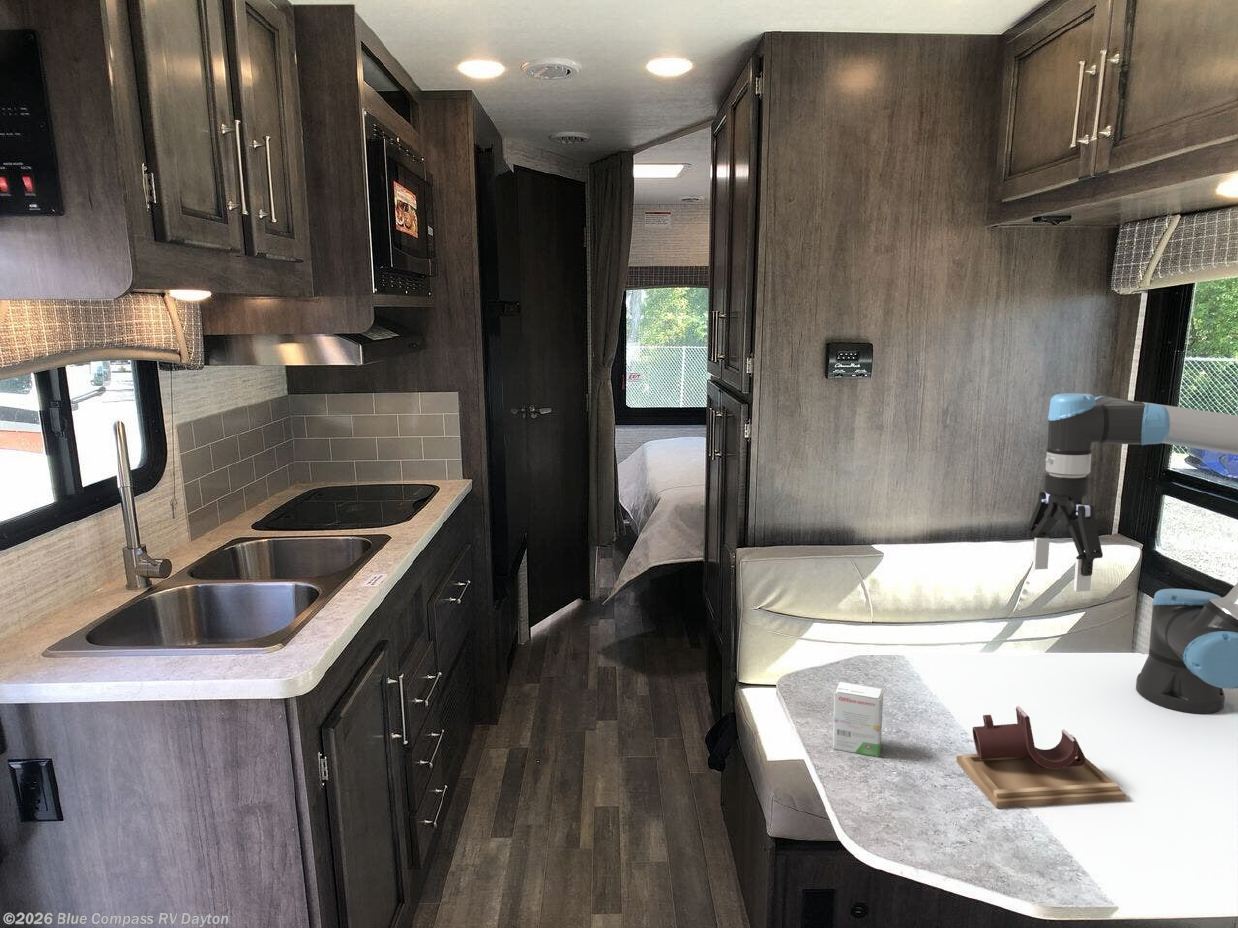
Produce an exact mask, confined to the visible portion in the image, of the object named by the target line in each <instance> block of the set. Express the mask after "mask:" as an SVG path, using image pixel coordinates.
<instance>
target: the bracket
mask: <svg viewBox="0 0 1238 928" xmlns="http://www.w3.org/2000/svg"><path fill="white" fill-rule="evenodd" d="M1015 711H1016V712H1015V713H1016V723H1008V724H1005V723H1004V724H995V725H994V721H993V720H994V719H993V717H992V715H991V714H983V715H982V720H983V724H984V725H982V726H973V727H972V735H973V736H972V737H973V742H974V746H975V750H976V754H978V757H979V759H993V758H1008V757H1022V756H1025V757H1027V758H1028V759H1029V760H1031V761H1032V762H1033V763H1035V764H1036V765H1037V766H1039V767H1040V768H1052V769H1058V768H1063V767H1076V766H1082V765H1084V764H1085V761H1086V758H1087V757H1086V756H1085V754H1084V752H1083V750H1082V748H1081V746H1080V744H1079V742H1078V740H1077V739H1076V737H1075V736H1074V735H1073V734H1070V733H1069V732H1068V731H1067V730H1065V729H1061V738H1060V740H1059V742H1058V744H1057V745H1056V746H1054V747H1052V748H1049V749H1042V748H1039V747H1036V746H1035V742H1034V736H1033V731H1032V730H1033V729H1032V724H1031V719H1030V716H1029V715H1028V714H1027V713H1026V712H1025V711H1024V709H1022V708H1021V707H1020V705H1019V706H1016V707H1015ZM1077 756H1078V758H1077V759H1075V757H1077Z"/></svg>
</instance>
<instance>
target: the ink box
mask: <svg viewBox="0 0 1238 928" xmlns="http://www.w3.org/2000/svg"><path fill="white" fill-rule="evenodd" d="M883 704H884V689H883V688H879V687H872V686H866V685H860V684H856V683H849V682H843V681H838V682H837V685H836V686H835V689H834V691H833V724H832V725H833V729H832V730H833V731H832V732H833V733H832V734H833V736H832V748H833V749H834V750H839V751H844V752H850V753H854V754H859V755H865V756H870V757H876V758H879V757H880V753H881V748H882V731H883V710H884V709H883V706H884V705H883Z"/></svg>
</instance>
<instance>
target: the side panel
mask: <svg viewBox="0 0 1238 928" xmlns="http://www.w3.org/2000/svg"><path fill="white" fill-rule="evenodd" d="M1077 758H1078V756H1077V757H1075V759H1077ZM1085 758H1086V761H1085V764H1084V765H1082V766H1076V767H1063V768H1058V769H1052V768H1040V767H1039V766H1037V765H1036V764H1035V763H1033V762H1032V761H1031V760H1029V759H1028V758H1027V757H1025V756H1022V757H1008V758H993V759H979V757H978V754H977V753H970V754H969V753H968V754H967V753H966V754H961V755H956V764H958V765H959V767H960V768H961V769H962V770H963V772H965V774H966V775H967V776H968V777H969V778H970V780H972V782H973V783H974V784H975V786H977V787H978V789H979V790H980V791H981V793H983V795H984V796H985V797H986V798H987V799H988V801H989V802H990V803H991V804H992V805H993V806H994V807H995V809H1003V808H1005V809H1006V808H1022V807H1023V808H1024V807H1036V806H1053V805H1069V804H1071V805H1072V804H1084V803H1088V804H1089V803H1099V802H1100V803H1101V802H1102V803H1103V802H1105V803H1106V802H1117V801H1118V802H1119V801H1126V792H1125V791H1123V790H1122V789H1121V788H1119V787H1120V786H1119V785H1118V784H1117V783H1116V782H1115V781H1114V780H1112V779H1111V778H1110V777H1109V776H1107V774H1105V773H1104V772H1103V771H1102V770H1101V769H1100V768H1098V767H1097V766H1096V765H1095V764H1094V763H1092V761H1090V760H1089V759H1088V758H1087V757H1085Z"/></svg>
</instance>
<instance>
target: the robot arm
mask: <svg viewBox="0 0 1238 928" xmlns="http://www.w3.org/2000/svg"><path fill="white" fill-rule="evenodd" d="M1048 409H1049V410H1048V415H1047V441H1046V442H1047V445H1046V458H1045V471H1046V472H1047V473H1045V475H1044V482H1043V483H1044V486H1043V490H1044V491H1039V493H1038V499H1037V503H1036V506H1035V507H1034V511H1033V513H1032V516H1031V518H1030V519H1029V520H1030V521H1029V523H1028V526H1027V531H1028V532H1031V534H1032V537H1033V538H1034V539H1033V556H1032V557H1033V560H1032V569H1033V570H1048V567H1049V556H1050V555H1049V554H1050V552H1049V551H1050V538H1051V537H1050V536H1051V535H1050V532H1051V531H1052V529H1054V527H1055V525H1056V524H1057V523H1058V521H1060V522H1061V523H1063V524H1064V526H1065V527H1066V528H1068V531H1069V533H1070V536H1071V538H1072V541H1073V543H1074V546H1075V548H1076V551H1077V554H1078V555H1077V556H1076V557H1075V568H1074V580H1073V581H1074V582H1073V591H1074V592H1090V591H1091V581H1092V576H1093V568H1094V561H1095V559H1102V558H1103V550H1102V546H1101V541H1100V538H1099V537H1100V536H1099V532H1098V528H1097V523H1096V519H1095V507H1094V505H1092V504H1088V505H1083V498H1084V497H1086V496H1088V494H1089V492H1090V491H1089V490H1090V477H1089V476H1088V475H1089V474H1091V469H1092V467H1091V466H1092V451H1093V450H1092V449H1093V445H1095V444H1096V445H1102V444H1104V445H1105V444H1106V445H1108V444H1110V445H1141V446H1145V445H1159V444H1167V445H1173V446H1179V447H1184V448H1192V449H1197V450H1206V451H1210V452H1211V451H1212V452H1217V453H1223V454H1230V455H1237V456H1238V414H1237V415H1236V414H1228V413H1224V412H1223V413H1222V412H1221V413H1220V412H1215V411H1207V410H1202V409H1201V410H1200V409H1194V408H1187V407H1179V406H1173V405H1167V404H1158V403H1153V402H1144V401H1136V400H1130V399H1122V398H1116V397H1115V396H1109V395H1099V396H1096V397H1095V395H1093V394H1092V393H1091V394H1090V393H1074V392H1073V393H1070V392H1069V393H1065V392H1064V393H1058V394H1057V393H1056V394H1054V395H1053V396H1051V399H1050V403H1049V408H1048ZM1049 537H1050V538H1049ZM1152 601H1153V602H1152V603H1151V607H1152V609H1151V623H1150V633H1149V634H1150V635H1149V647H1148V656H1147V657H1146V660H1145V662H1144V664H1143V666H1142V669H1141V670H1140V673H1138V675H1137V676H1136V680H1135V683H1136V684H1135V690H1136V692H1137V693H1138V694H1139V695H1140V696H1141V697H1142V698H1144V699H1145V700H1146V701H1149V702H1151V703H1153V704H1155V705H1158V706H1161V707H1163V708H1167V709H1171V710H1174V711H1179V712H1185V713H1191V714H1193V713H1194V714H1213V713H1217V712H1219V711H1220V712H1221V711H1222V710H1223V708H1224V707H1225V696H1226V695H1225V691H1224V690H1223V689H1227V690H1231V689H1238V582H1236V584H1235V585H1234V586H1233V587H1232V589H1230V591H1229V592H1228V593H1227V594H1226V595H1225V596H1223V597H1222V596H1220V595H1219V594H1215V593H1212V592H1208V591H1202V590H1196V589H1195V590H1194V589H1185V588H1163V589H1159V590H1158V591H1156V592H1155V593H1154V596H1153V600H1152Z"/></svg>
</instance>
